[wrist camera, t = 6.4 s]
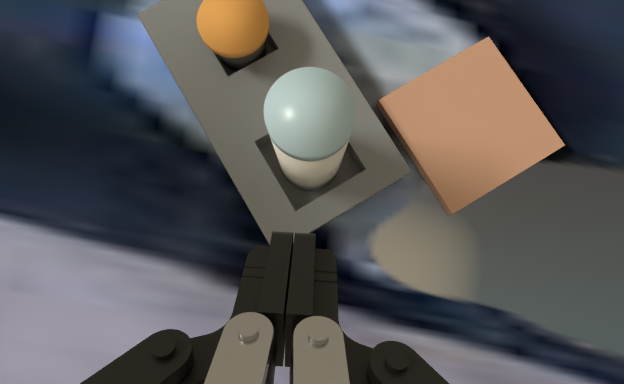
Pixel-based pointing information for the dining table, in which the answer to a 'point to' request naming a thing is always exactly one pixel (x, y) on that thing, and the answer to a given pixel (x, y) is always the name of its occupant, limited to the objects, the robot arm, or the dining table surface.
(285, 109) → the ball-topped peg
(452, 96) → the tile
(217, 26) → the plunger
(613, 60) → the dining table surface
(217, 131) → the grey peg board
